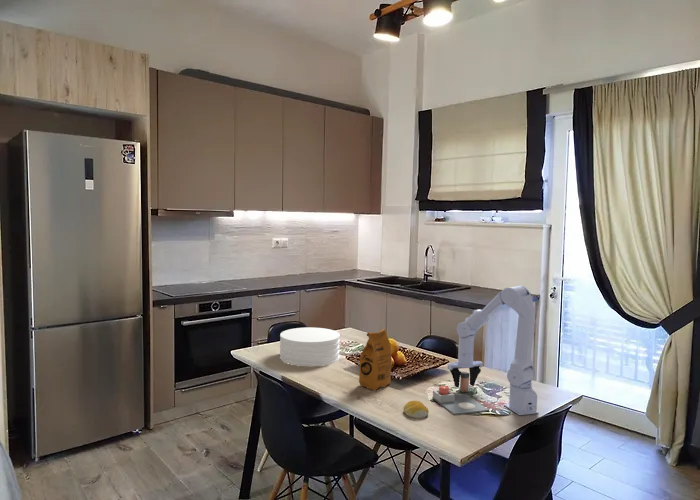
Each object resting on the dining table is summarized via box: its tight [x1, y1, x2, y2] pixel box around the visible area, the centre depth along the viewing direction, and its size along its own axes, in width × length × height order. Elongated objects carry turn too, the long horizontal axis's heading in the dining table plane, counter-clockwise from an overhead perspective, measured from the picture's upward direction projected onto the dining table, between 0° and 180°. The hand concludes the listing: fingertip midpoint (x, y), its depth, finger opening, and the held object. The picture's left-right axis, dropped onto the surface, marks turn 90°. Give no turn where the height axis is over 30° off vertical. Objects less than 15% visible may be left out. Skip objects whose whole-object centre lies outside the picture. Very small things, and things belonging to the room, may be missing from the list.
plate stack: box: [279, 326, 341, 367], centre depth 232 cm, size 28×28×12 cm
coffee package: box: [358, 328, 392, 391], centre depth 197 cm, size 10×12×22 cm
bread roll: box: [402, 400, 429, 419], centre depth 170 cm, size 8×9×4 cm
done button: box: [438, 385, 450, 395], centre depth 182 cm, size 4×4×3 cm
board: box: [431, 389, 490, 416], centre depth 179 cm, size 16×14×3 cm
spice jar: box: [459, 371, 470, 393], centre depth 193 cm, size 3×3×7 cm
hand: (464, 386), depth 193 cm, fingers open, 6 cm apart
